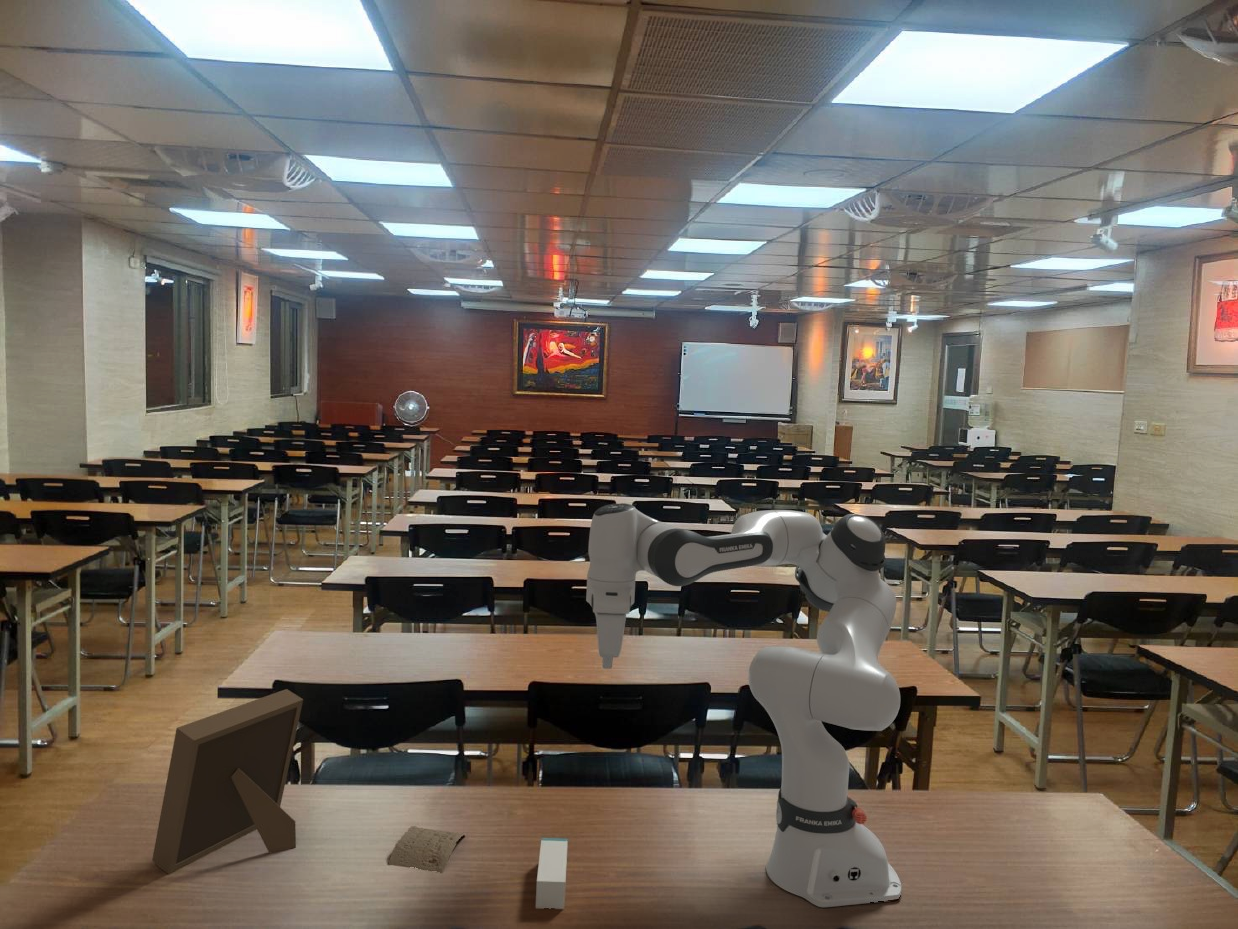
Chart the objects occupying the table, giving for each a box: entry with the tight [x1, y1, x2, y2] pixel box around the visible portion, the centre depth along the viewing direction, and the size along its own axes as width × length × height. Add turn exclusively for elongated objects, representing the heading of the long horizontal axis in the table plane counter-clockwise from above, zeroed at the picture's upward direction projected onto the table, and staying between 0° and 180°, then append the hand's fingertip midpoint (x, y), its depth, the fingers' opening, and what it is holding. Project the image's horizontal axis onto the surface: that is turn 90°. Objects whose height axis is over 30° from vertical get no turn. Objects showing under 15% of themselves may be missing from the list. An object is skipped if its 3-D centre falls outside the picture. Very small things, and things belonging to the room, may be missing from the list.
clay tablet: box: [388, 825, 466, 874], centre depth 151 cm, size 15×10×3 cm
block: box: [535, 837, 569, 910], centre depth 142 cm, size 4×4×13 cm
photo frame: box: [151, 688, 304, 875], centre depth 147 cm, size 15×22×25 cm
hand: (607, 666), depth 159 cm, fingers closed
